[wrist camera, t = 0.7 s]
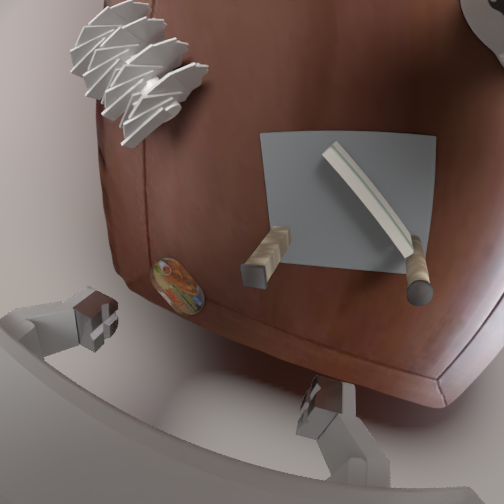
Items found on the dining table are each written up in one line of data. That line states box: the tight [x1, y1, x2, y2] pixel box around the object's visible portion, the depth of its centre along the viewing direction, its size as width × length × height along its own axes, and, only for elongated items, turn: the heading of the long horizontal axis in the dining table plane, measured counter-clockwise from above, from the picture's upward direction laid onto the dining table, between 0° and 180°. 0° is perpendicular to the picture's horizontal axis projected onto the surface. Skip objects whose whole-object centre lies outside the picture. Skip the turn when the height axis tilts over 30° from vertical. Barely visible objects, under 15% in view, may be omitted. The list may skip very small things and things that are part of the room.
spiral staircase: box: [70, 0, 209, 149], centre depth 39 cm, size 18×18×25 cm
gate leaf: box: [322, 141, 414, 258], centre depth 41 cm, size 19×2×6 cm, turn 48°
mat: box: [260, 131, 436, 274], centre depth 47 cm, size 28×24×1 cm
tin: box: [150, 257, 205, 316], centre depth 66 cm, size 15×3×8 cm, turn 41°
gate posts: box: [240, 226, 433, 306], centre depth 44 cm, size 26×4×15 cm, turn 98°
